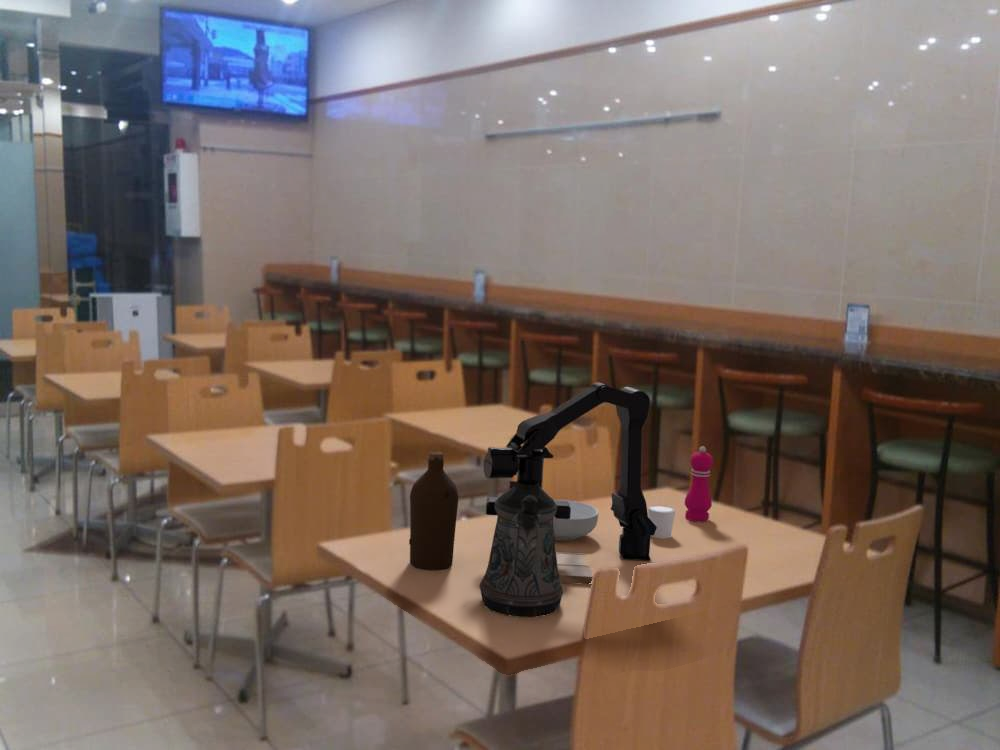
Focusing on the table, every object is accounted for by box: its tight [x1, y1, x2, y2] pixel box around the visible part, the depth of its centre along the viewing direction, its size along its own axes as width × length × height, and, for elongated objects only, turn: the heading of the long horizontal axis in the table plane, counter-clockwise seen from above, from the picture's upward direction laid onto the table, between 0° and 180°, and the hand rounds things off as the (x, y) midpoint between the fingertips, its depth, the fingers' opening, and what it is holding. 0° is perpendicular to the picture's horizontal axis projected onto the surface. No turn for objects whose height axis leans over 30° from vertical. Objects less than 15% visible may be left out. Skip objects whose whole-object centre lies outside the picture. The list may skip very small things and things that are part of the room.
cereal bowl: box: [553, 499, 599, 541], centre depth 249 cm, size 17×17×7 cm
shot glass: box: [647, 504, 676, 540], centre depth 254 cm, size 7×7×7 cm
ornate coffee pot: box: [479, 479, 564, 618], centre depth 198 cm, size 16×19×25 cm
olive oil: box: [408, 450, 460, 571], centre depth 221 cm, size 11×11×25 cm
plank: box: [556, 551, 588, 566], centre depth 225 cm, size 17×7×2 cm, turn 90°
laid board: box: [557, 565, 594, 585], centre depth 218 cm, size 18×7×2 cm, turn 90°
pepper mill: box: [684, 445, 714, 522], centre depth 271 cm, size 7×7×20 cm
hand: (525, 545), depth 226 cm, fingers closed
